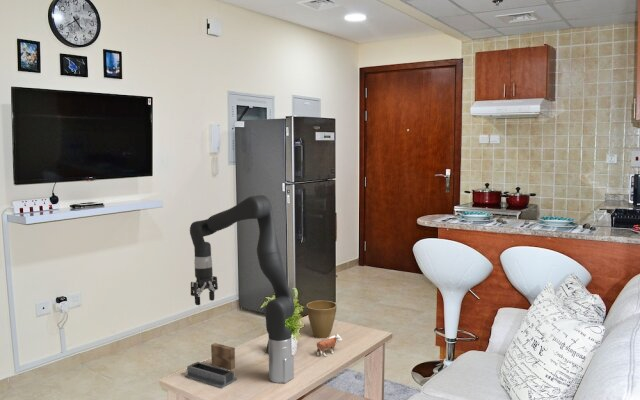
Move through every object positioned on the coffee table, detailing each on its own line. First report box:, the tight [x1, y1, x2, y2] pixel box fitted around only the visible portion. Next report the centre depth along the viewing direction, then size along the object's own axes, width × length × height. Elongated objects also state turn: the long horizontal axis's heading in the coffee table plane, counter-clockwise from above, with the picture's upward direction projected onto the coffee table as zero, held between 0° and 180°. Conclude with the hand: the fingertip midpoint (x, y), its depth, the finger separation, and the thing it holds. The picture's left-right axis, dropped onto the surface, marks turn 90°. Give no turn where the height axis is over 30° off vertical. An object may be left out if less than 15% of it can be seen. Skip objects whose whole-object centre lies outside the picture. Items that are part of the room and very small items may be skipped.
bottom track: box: [184, 361, 238, 389], centre depth 225 cm, size 20×9×4 cm, turn 58°
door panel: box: [210, 342, 236, 371], centre depth 237 cm, size 11×2×9 cm, turn 58°
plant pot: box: [306, 300, 338, 339], centre depth 274 cm, size 15×15×16 cm
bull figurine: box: [316, 333, 343, 357], centre depth 251 cm, size 4×13×8 cm, turn 125°
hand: (205, 302), depth 243 cm, fingers open, 8 cm apart
